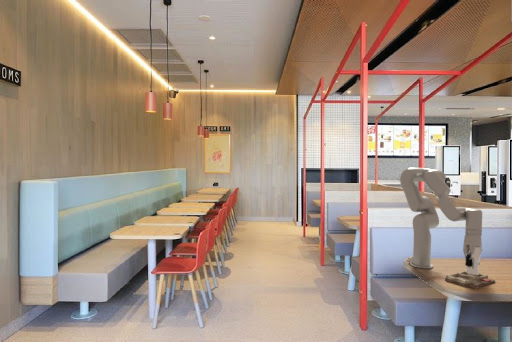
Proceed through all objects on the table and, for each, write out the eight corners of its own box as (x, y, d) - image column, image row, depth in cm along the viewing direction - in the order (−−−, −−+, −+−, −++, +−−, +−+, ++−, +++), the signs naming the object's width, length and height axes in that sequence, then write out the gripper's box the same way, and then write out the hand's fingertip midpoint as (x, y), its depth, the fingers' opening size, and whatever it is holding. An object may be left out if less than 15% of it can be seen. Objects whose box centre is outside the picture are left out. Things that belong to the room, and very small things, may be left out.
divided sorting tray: (444, 280, 193) (444, 275, 192) (466, 274, 203) (466, 269, 203) (473, 288, 180) (474, 283, 180) (495, 282, 190) (495, 277, 190)
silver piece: (482, 275, 192) (483, 247, 192) (470, 275, 191) (471, 247, 191) (474, 271, 199) (474, 244, 199) (461, 271, 198) (462, 244, 198)
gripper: (475, 229, 202) (474, 261, 203) (457, 232, 193) (456, 265, 194) (489, 231, 196) (488, 264, 196) (471, 234, 187) (470, 269, 187)
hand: (472, 265), depth 195 cm, fingers closed on silver piece, 6 cm apart
